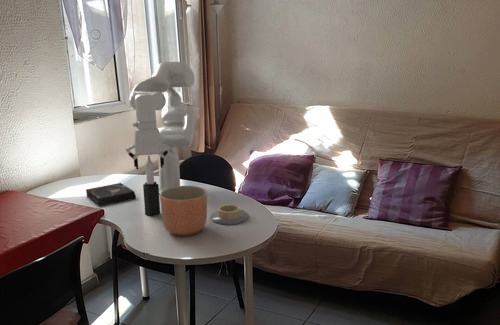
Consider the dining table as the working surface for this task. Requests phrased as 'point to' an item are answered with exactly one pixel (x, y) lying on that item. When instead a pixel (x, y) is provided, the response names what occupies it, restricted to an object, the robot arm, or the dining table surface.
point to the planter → (184, 209)
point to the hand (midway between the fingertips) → (149, 167)
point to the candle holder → (229, 215)
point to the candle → (151, 192)
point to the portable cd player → (110, 194)
